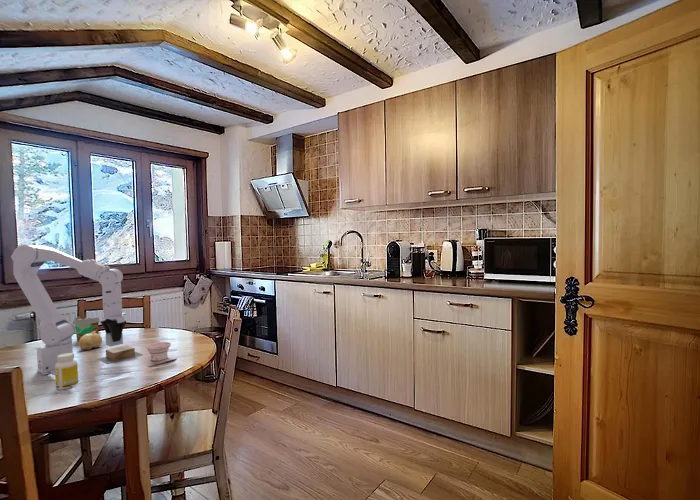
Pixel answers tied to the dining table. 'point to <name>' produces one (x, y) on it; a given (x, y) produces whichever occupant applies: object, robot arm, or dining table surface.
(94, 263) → the robot arm
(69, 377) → the supplement bottle
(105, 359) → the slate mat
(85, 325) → the food container
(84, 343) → the tan round lump
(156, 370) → the dining table surface
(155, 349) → the teacup
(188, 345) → the dining table surface
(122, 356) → the walnut slab
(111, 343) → the gray cube
